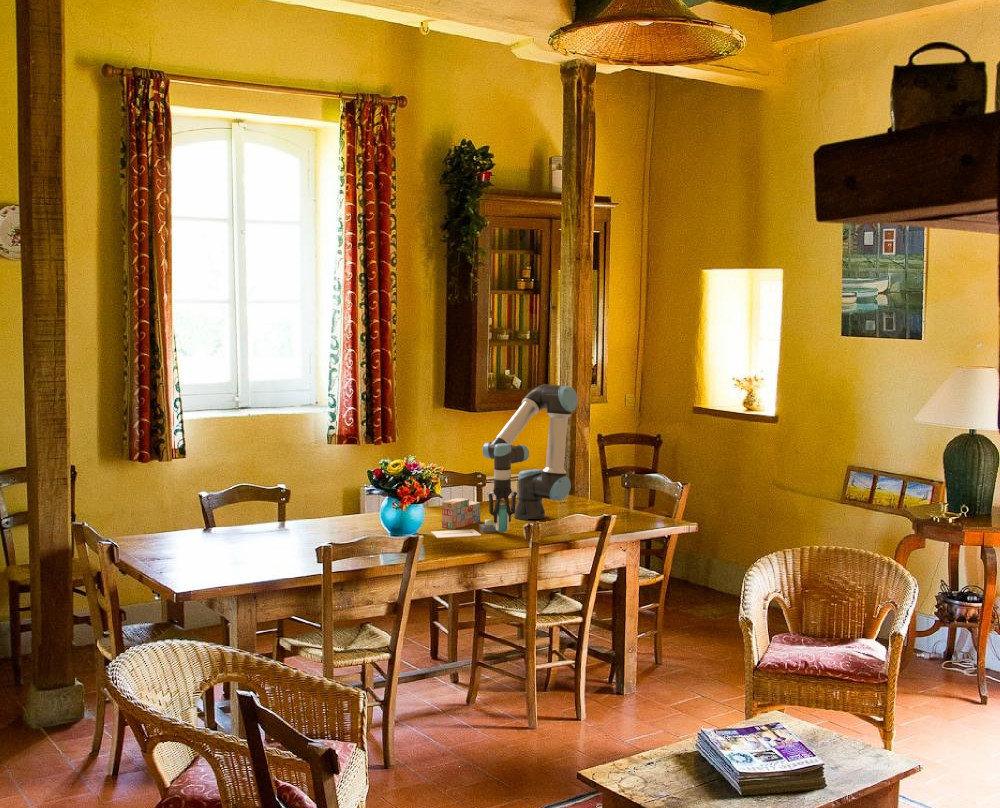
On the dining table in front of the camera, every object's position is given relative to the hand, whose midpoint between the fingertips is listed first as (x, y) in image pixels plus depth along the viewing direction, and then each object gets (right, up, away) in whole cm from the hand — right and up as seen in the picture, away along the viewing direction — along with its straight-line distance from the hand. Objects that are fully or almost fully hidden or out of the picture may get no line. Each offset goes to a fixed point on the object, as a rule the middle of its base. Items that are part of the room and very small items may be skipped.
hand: (502, 529), depth 498 cm
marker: (0, -1, 0) cm, 1 cm away
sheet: (-21, -2, -2) cm, 21 cm away
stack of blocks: (-19, 0, +18) cm, 26 cm away
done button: (-6, 0, +5) cm, 8 cm away
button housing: (-6, -1, +5) cm, 8 cm away
